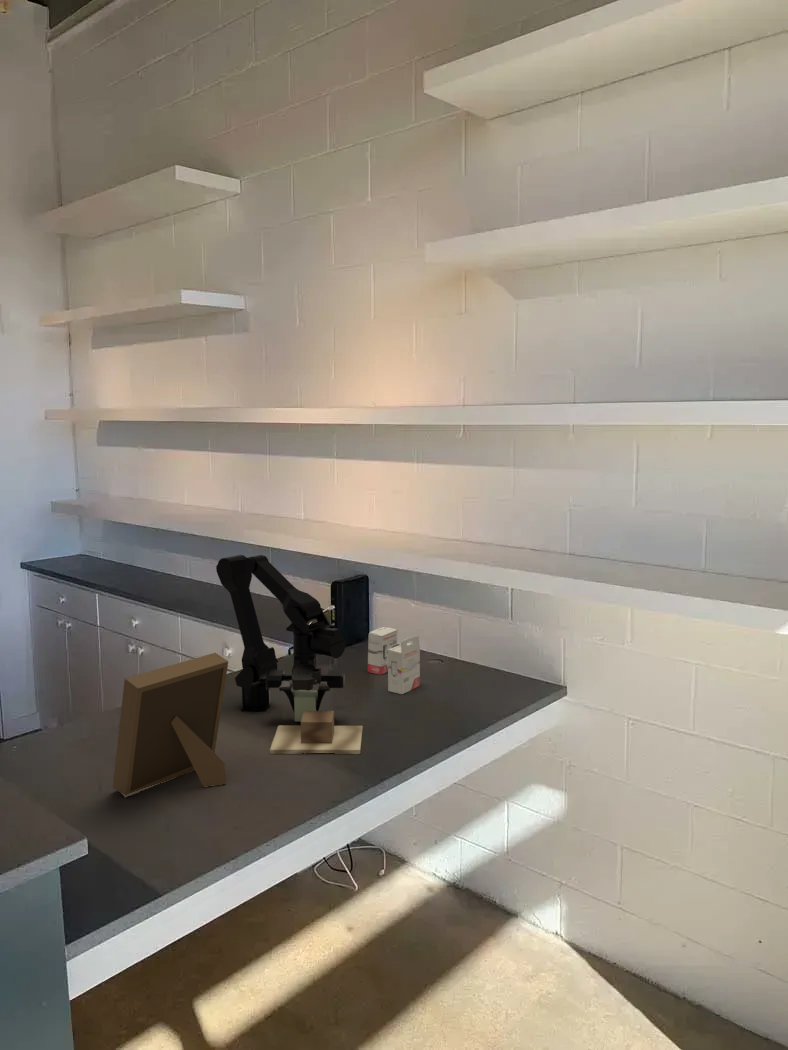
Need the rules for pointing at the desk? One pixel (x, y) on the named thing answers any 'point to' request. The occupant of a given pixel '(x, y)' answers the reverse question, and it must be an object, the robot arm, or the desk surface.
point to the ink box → (380, 649)
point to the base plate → (338, 747)
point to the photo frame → (171, 724)
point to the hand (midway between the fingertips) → (306, 712)
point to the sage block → (304, 702)
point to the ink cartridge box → (404, 666)
